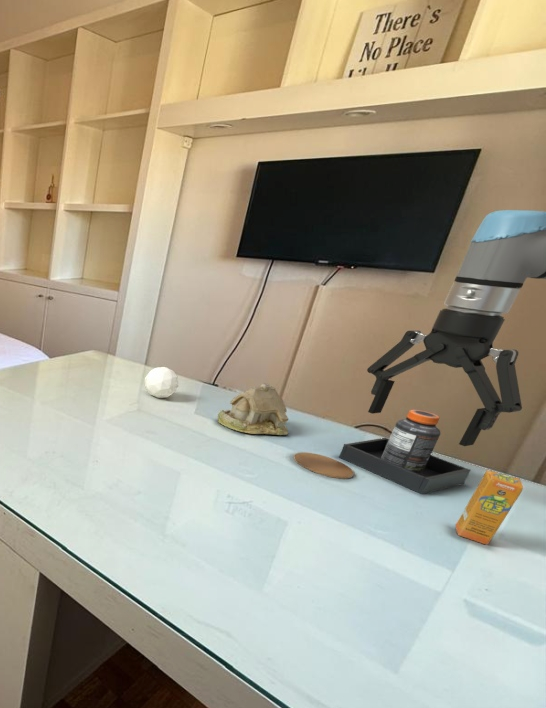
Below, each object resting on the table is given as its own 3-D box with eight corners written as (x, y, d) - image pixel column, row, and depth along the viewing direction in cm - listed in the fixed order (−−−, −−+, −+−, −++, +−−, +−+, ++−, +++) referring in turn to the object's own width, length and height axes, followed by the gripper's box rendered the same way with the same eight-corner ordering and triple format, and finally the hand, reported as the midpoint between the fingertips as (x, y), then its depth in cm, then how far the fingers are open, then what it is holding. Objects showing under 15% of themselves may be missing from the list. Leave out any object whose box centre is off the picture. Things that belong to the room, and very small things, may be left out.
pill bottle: (416, 467, 86) (442, 412, 82) (425, 480, 81) (453, 422, 77) (375, 457, 89) (399, 404, 85) (382, 469, 84) (407, 413, 80)
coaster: (364, 475, 82) (365, 473, 82) (332, 481, 79) (333, 479, 79) (313, 452, 90) (314, 450, 90) (282, 457, 87) (283, 455, 87)
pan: (463, 484, 82) (471, 469, 81) (421, 494, 77) (428, 479, 76) (379, 450, 93) (385, 437, 92) (338, 457, 89) (344, 444, 88)
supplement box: (456, 535, 66) (489, 476, 63) (454, 526, 69) (485, 468, 65) (489, 547, 64) (525, 486, 61) (486, 536, 67) (520, 477, 63)
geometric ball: (146, 404, 117) (135, 375, 118) (176, 394, 117) (164, 366, 118) (157, 400, 109) (145, 369, 111) (189, 389, 109) (176, 359, 111)
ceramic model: (252, 414, 108) (265, 374, 104) (298, 435, 98) (314, 391, 94) (207, 418, 103) (219, 376, 100) (250, 440, 93) (265, 395, 90)
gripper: (373, 297, 84) (331, 402, 92) (578, 329, 63) (500, 463, 70) (397, 298, 87) (354, 400, 95) (601, 329, 65) (524, 458, 73)
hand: (416, 427), depth 82 cm, fingers open, 13 cm apart
